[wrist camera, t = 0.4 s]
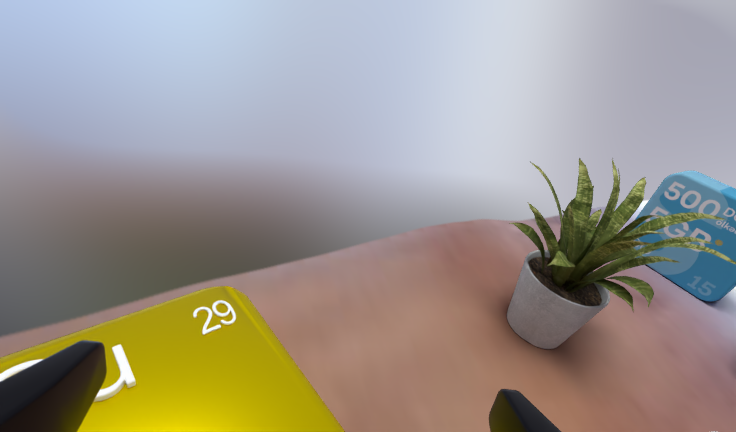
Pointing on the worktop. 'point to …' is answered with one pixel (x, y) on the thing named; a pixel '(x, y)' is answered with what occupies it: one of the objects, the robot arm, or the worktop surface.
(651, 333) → the worktop surface
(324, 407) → the element tile
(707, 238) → the data package
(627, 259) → the house plant
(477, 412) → the worktop surface
